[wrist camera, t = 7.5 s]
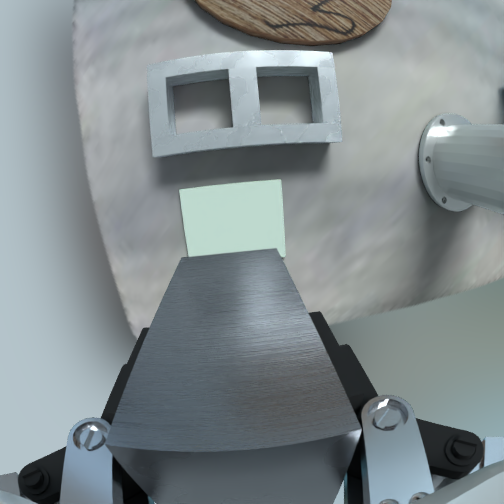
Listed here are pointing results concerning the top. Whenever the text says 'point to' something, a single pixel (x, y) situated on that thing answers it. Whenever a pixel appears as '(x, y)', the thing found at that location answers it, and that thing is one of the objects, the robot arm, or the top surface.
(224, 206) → the sage pad
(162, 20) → the top surface
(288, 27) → the trivet
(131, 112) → the top surface
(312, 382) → the zinc peg
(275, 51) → the grey cinder block
